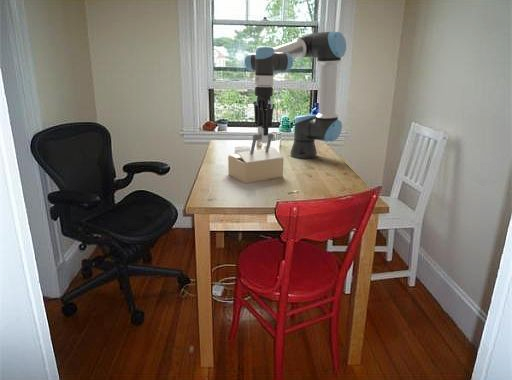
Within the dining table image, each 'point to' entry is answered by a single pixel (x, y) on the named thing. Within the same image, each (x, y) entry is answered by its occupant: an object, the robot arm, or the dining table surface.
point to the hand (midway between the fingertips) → (262, 141)
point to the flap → (260, 151)
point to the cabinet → (254, 169)
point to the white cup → (241, 149)
